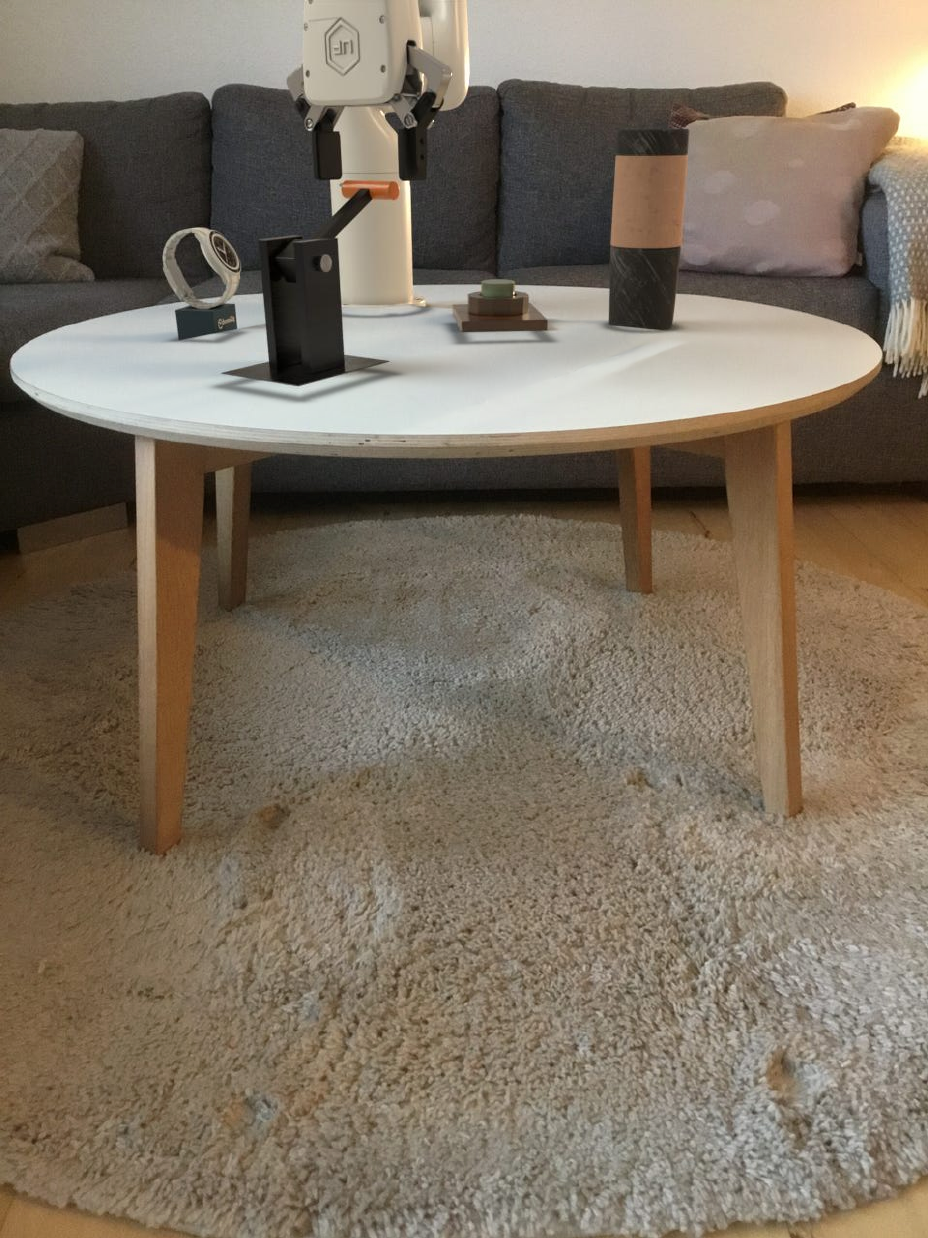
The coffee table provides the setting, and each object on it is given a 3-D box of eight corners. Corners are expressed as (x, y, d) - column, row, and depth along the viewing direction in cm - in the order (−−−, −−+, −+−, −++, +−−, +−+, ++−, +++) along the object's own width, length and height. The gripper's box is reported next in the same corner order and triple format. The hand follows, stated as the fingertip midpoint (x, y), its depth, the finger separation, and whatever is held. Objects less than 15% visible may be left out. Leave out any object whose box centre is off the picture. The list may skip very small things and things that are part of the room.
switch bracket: (316, 363, 96) (307, 230, 91) (390, 373, 92) (385, 235, 87) (222, 386, 87) (206, 241, 82) (298, 399, 83) (287, 247, 78)
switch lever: (356, 196, 93) (346, 172, 91) (403, 198, 90) (394, 172, 88) (272, 281, 87) (260, 256, 85) (319, 285, 84) (308, 259, 82)
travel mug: (680, 332, 110) (697, 128, 102) (610, 332, 110) (620, 129, 102) (668, 320, 117) (683, 128, 109) (602, 320, 117) (612, 129, 109)
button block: (452, 324, 116) (452, 287, 114) (530, 322, 117) (530, 286, 115) (461, 343, 105) (461, 303, 103) (547, 341, 106) (548, 301, 104)
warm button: (479, 296, 111) (479, 279, 110) (512, 295, 111) (512, 278, 110) (483, 300, 108) (483, 283, 107) (516, 300, 108) (517, 283, 107)
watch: (233, 342, 106) (222, 230, 102) (163, 339, 108) (149, 229, 103) (254, 333, 111) (244, 226, 107) (187, 330, 113) (174, 225, 108)
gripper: (251, -44, 84) (269, 180, 91) (416, -70, 75) (422, 181, 82) (312, -32, 90) (325, 178, 97) (473, -54, 81) (474, 179, 88)
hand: (369, 179), depth 90 cm, fingers open, 9 cm apart
